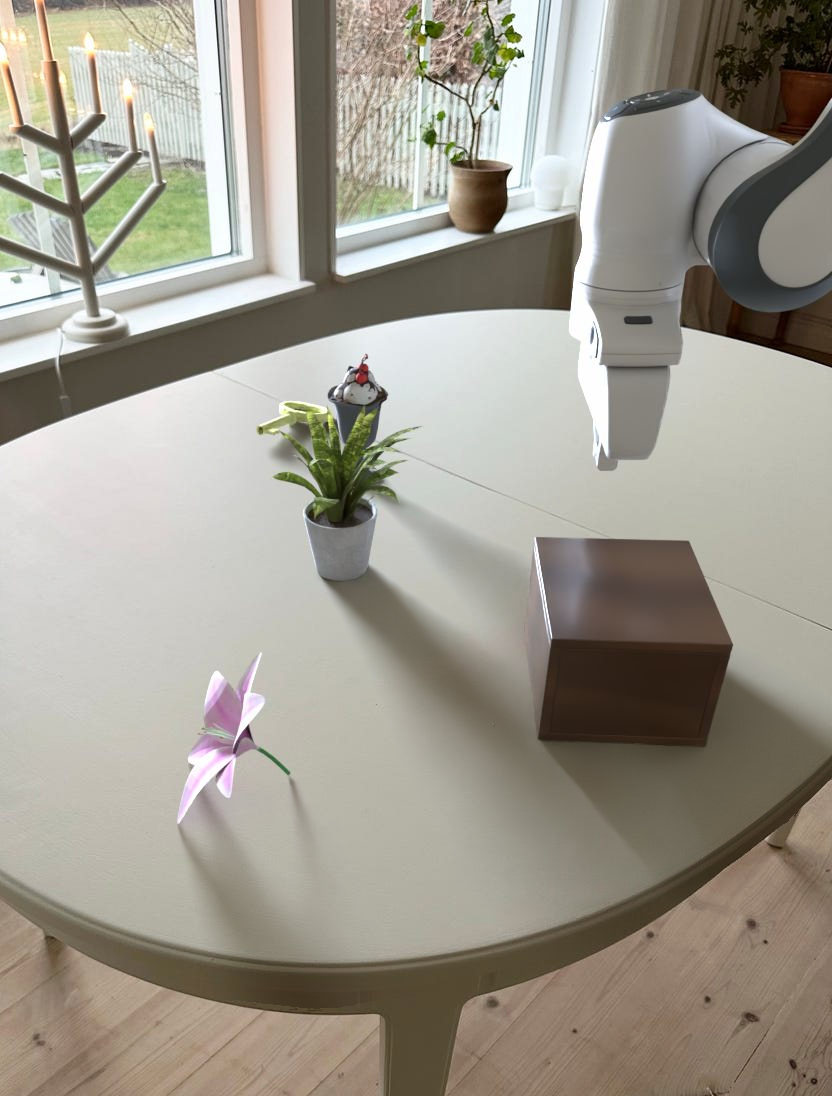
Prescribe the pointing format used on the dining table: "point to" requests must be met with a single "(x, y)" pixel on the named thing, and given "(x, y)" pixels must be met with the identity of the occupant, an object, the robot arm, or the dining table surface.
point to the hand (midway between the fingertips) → (604, 464)
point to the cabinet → (623, 642)
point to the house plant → (342, 494)
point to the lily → (224, 735)
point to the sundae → (357, 402)
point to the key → (292, 416)
